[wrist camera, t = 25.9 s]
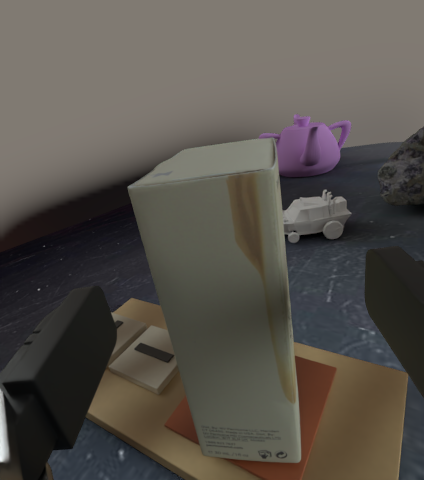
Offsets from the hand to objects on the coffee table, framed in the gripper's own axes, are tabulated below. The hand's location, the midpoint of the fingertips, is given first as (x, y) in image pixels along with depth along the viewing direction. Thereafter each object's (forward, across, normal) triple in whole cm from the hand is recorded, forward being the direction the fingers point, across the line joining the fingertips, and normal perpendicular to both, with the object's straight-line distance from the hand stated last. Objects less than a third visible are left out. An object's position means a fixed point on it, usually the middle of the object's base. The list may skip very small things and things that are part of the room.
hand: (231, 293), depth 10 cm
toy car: (+23, -8, +10) cm, 26 cm away
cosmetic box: (+3, 0, +9) cm, 9 cm away
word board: (+5, +3, +10) cm, 11 cm away
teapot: (+49, -13, +10) cm, 52 cm away
